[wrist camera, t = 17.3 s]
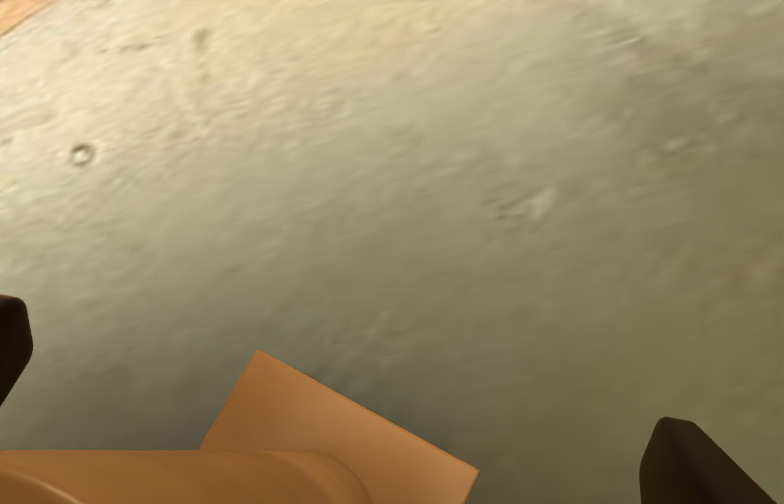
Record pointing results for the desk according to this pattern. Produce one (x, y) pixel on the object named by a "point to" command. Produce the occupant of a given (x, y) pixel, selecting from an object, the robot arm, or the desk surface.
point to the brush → (255, 457)
